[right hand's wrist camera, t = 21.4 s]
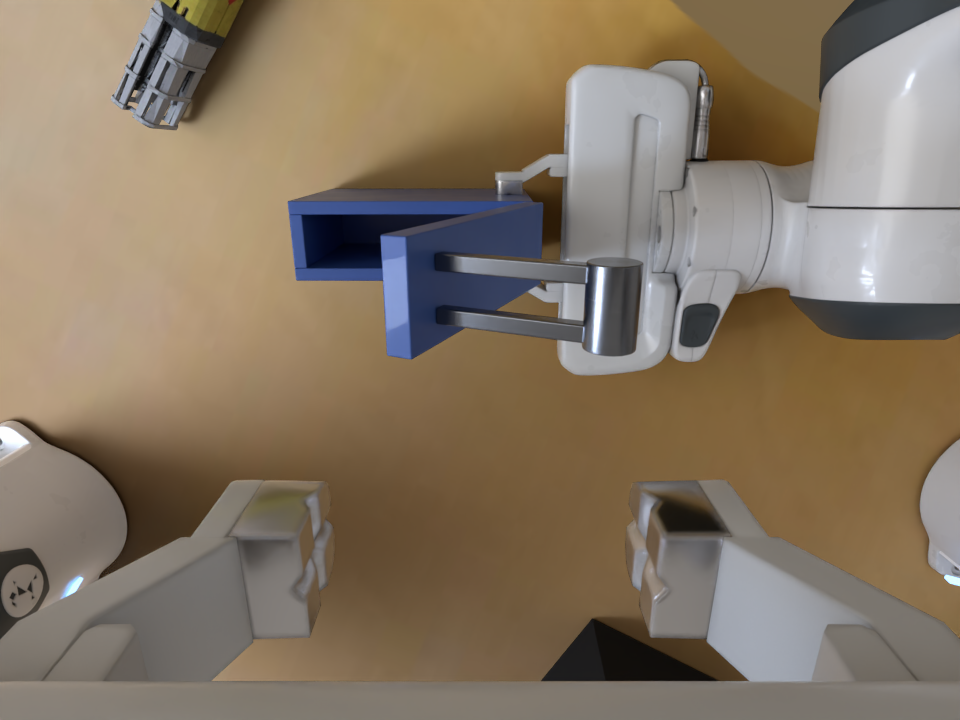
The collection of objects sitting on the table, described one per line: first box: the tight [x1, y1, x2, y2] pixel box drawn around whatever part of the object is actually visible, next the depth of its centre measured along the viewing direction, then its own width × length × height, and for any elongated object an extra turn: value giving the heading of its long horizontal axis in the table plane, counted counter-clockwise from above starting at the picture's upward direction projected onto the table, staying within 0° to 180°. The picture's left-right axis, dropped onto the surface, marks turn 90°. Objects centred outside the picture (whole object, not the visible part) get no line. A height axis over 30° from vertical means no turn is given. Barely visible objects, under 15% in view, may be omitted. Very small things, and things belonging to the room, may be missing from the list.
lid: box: [381, 202, 644, 359], centre depth 28 cm, size 15×5×9 cm
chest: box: [288, 189, 533, 281], centre depth 41 cm, size 14×5×11 cm, turn 90°
